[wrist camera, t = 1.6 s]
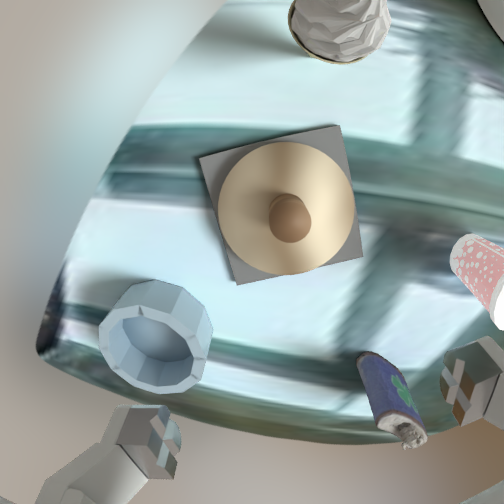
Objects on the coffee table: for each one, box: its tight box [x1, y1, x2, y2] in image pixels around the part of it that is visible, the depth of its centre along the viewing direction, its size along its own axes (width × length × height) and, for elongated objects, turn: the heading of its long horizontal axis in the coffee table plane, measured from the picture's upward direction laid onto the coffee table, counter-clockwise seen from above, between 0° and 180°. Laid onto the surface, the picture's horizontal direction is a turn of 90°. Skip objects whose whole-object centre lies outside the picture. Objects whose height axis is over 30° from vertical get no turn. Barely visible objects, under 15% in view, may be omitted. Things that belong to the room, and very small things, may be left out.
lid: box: [218, 142, 354, 275], centre depth 23 cm, size 10×10×4 cm
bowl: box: [99, 280, 213, 394], centre depth 28 cm, size 10×10×4 cm
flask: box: [356, 351, 428, 450], centre depth 27 cm, size 9×3×11 cm, turn 46°
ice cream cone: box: [288, 0, 391, 64], centre depth 14 cm, size 5×5×15 cm
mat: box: [199, 125, 363, 285], centre depth 25 cm, size 11×11×1 cm
